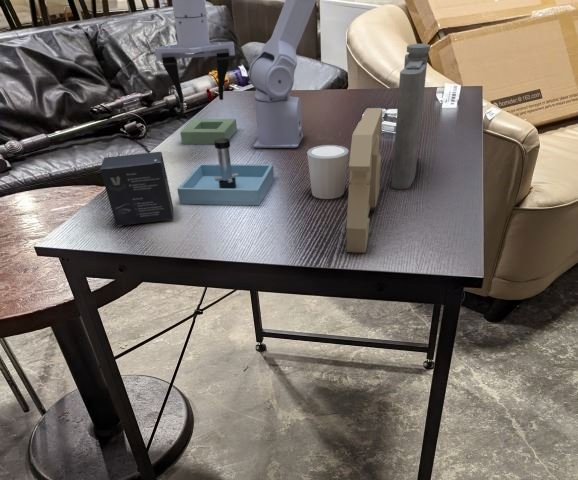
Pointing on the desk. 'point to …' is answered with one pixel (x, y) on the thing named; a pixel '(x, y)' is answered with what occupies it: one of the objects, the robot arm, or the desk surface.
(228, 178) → the silver black capped cylinder
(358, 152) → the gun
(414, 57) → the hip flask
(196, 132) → the green square holder
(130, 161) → the box
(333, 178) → the white cup
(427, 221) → the desk surface
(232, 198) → the tray
